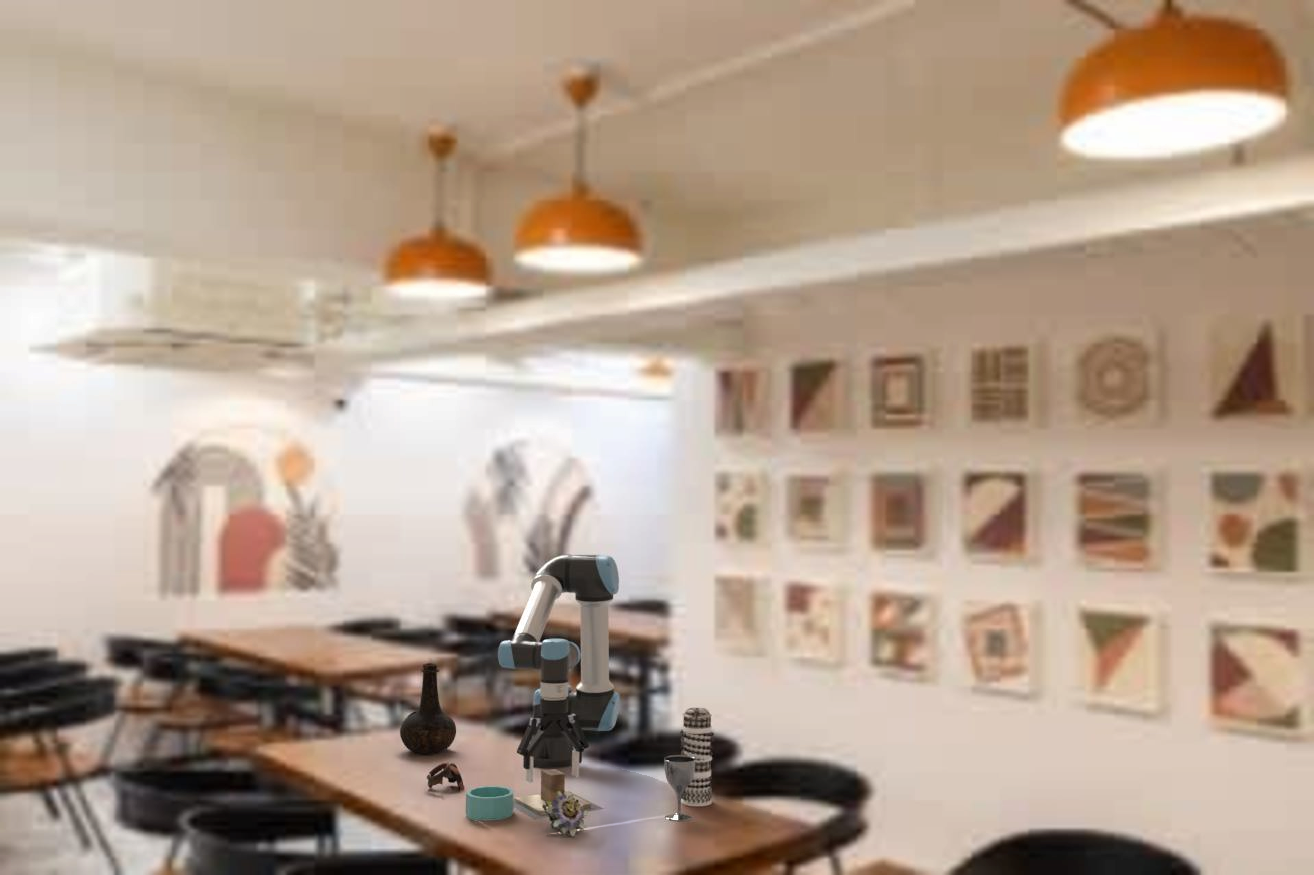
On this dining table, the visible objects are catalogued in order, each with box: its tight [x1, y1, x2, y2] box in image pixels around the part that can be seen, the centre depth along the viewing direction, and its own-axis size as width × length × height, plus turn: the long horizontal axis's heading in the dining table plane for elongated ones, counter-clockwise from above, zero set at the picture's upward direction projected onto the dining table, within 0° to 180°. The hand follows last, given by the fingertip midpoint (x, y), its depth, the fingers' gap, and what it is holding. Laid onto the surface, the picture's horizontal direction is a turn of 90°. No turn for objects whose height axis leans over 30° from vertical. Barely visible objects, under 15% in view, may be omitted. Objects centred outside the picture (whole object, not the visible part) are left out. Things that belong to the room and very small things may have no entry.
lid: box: [514, 768, 591, 815], centre depth 306 cm, size 15×15×8 cm
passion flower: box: [542, 791, 590, 838], centre depth 283 cm, size 11×11×12 cm
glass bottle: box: [399, 662, 457, 755], centre depth 369 cm, size 18×18×28 cm
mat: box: [514, 791, 604, 820], centre depth 306 cm, size 20×20×1 cm
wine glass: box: [663, 754, 695, 822], centre depth 298 cm, size 8×8×15 cm
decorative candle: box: [679, 707, 715, 807], centre depth 313 cm, size 9×9×25 cm
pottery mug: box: [426, 762, 465, 791], centre depth 324 cm, size 12×10×8 cm
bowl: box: [465, 785, 515, 823], centre depth 297 cm, size 12×12×6 cm
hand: (552, 778), depth 306 cm, fingers open, 13 cm apart
